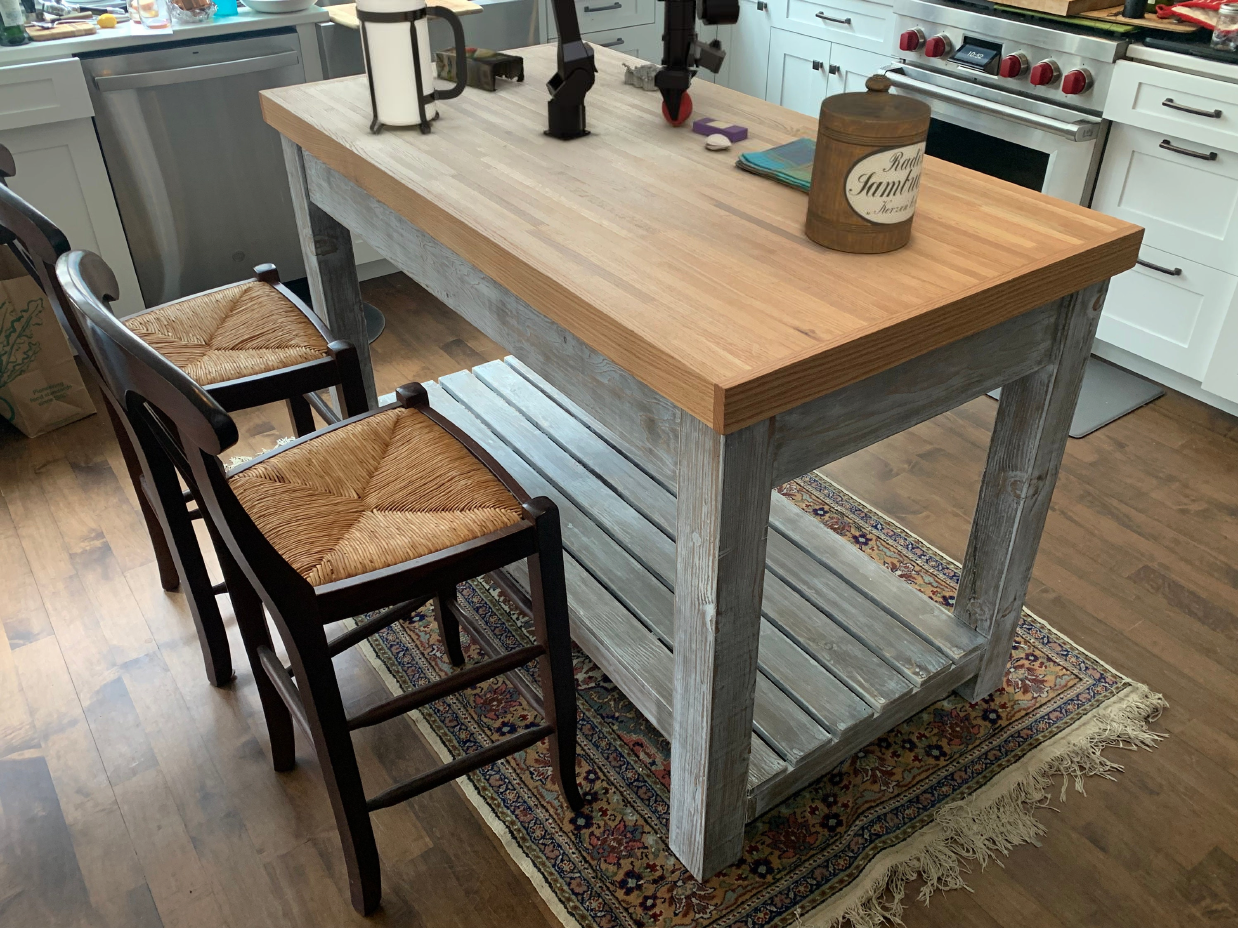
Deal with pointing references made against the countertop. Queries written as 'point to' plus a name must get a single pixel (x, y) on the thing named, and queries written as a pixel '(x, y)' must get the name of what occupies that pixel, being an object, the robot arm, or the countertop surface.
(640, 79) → the egg carton
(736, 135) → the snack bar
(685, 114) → the onion
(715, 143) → the white clam shell
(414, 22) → the coffee press
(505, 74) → the juice carton
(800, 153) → the dish towel
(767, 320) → the countertop surface
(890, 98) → the wooden container
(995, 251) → the countertop surface
